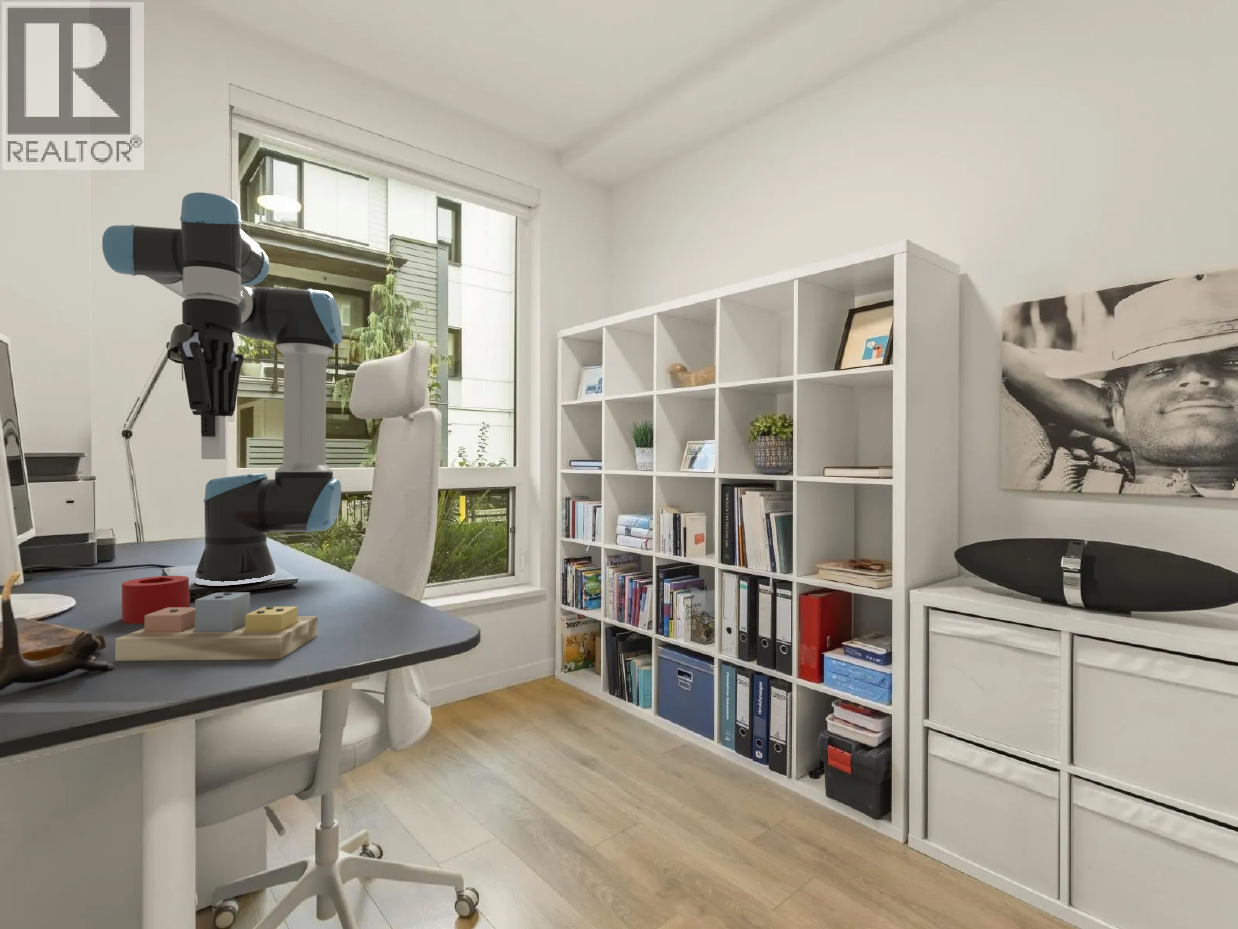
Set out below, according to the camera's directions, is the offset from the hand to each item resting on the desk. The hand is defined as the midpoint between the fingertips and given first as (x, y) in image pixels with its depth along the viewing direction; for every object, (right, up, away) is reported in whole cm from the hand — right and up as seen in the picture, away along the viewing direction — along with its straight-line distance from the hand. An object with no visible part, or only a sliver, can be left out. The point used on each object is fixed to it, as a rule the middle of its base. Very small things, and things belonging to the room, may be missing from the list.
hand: (213, 458), depth 97 cm
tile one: (-4, -27, -3) cm, 28 cm away
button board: (+3, -28, -3) cm, 28 cm away
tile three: (+10, -27, -3) cm, 29 cm away
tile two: (+3, -25, -3) cm, 25 cm away
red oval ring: (-20, -28, +19) cm, 39 cm away
